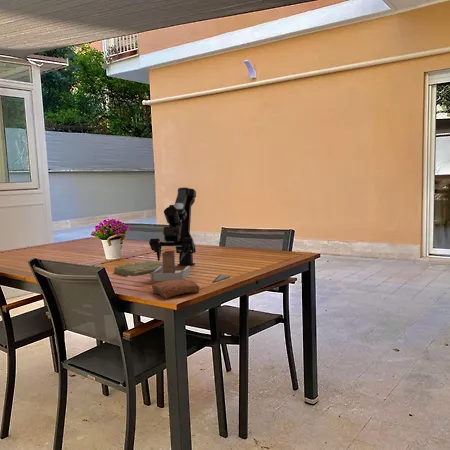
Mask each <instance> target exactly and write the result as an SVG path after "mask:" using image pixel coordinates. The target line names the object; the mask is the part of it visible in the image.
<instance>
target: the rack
mask: <svg viewBox="0 0 450 450" xmlns="http://www.w3.org/2000/svg"><path fill="white" fill-rule="evenodd" d="M149 274H150V282H163V281H168V280H185V279H186V278H187V277H189V275H190V274H191V265H190V266H185V268H184V269H182V272H181V273H163V266H160V267H159V268H157V269H156V270H155V271H153V272H151V273H149Z"/></svg>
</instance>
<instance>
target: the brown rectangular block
mask: <svg viewBox="0 0 450 450" xmlns="http://www.w3.org/2000/svg"><path fill="white" fill-rule="evenodd" d="M161 254H162V263H163V273H175V270H176V265H175V264H176V261H175V259H176V258H175V250H165V251H164V252H163V253H162V252H161Z"/></svg>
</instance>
